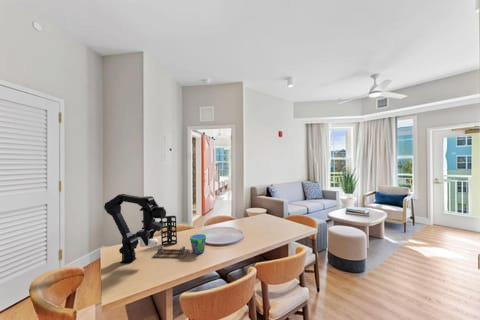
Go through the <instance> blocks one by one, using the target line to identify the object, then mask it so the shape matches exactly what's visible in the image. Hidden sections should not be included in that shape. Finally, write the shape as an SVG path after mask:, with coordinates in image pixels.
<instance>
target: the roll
mask: <svg viewBox="0 0 480 320" xmlns="http://www.w3.org/2000/svg"><path fill="white" fill-rule="evenodd" d="M158 242H159V240H158V238H153V239H149V241H148V246H146V245H145V243H144V242H143V240H142V239H140V241H139V247H142V248H143V247H144V248H145V247H151V248H152V247H155V248H156V247H157V246H158V244H159V243H158Z"/></svg>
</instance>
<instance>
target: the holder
mask: <svg viewBox="0 0 480 320" xmlns="http://www.w3.org/2000/svg"><path fill="white" fill-rule="evenodd" d="M164 219H166V221H163V219H160V221H161V220H162V221H163V223H164V226H163V228H162V230H160V234H161V235H160V236H161V242H160V243H161V246H172V245H177V244H178V233H177V232H178V231H177V215H166V216H165V218H164ZM173 219H174V220H173ZM173 228H175V229H174V230H173ZM163 229H166V230H163ZM163 234H164V236H163ZM173 238H175V239H173ZM164 239H166V240H164Z"/></svg>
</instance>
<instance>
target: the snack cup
mask: <svg viewBox="0 0 480 320" xmlns="http://www.w3.org/2000/svg"><path fill="white" fill-rule="evenodd" d="M206 240H207V235H206V234H203V233H196V234H192V235H191V236H190V237H189V241H190V244H191V250H192V253H193V254H194V255H195V254H196V255H197V254H199V255H200V254H202V253H205V248H206Z"/></svg>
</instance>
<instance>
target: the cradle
mask: <svg viewBox="0 0 480 320" xmlns="http://www.w3.org/2000/svg"><path fill="white" fill-rule="evenodd" d="M163 246H164V245H161V246H159V247H158V248H157V249H156V250H157V252H155V253H154V254H153V255H152V258H153V259H185V257H186V256H187V254H188V253H189V252H190V249H189V248H188V249H187V248H186V247H185V246H184V245H183V246H182V247H181V248H164V247H163Z"/></svg>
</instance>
